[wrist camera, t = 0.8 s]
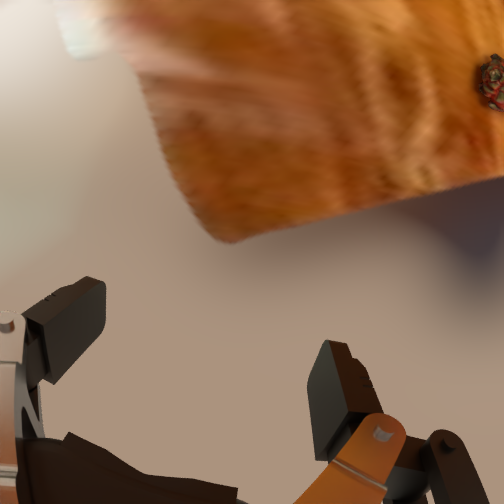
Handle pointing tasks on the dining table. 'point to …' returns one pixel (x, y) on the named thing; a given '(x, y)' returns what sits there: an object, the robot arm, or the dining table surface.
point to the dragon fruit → (493, 82)
